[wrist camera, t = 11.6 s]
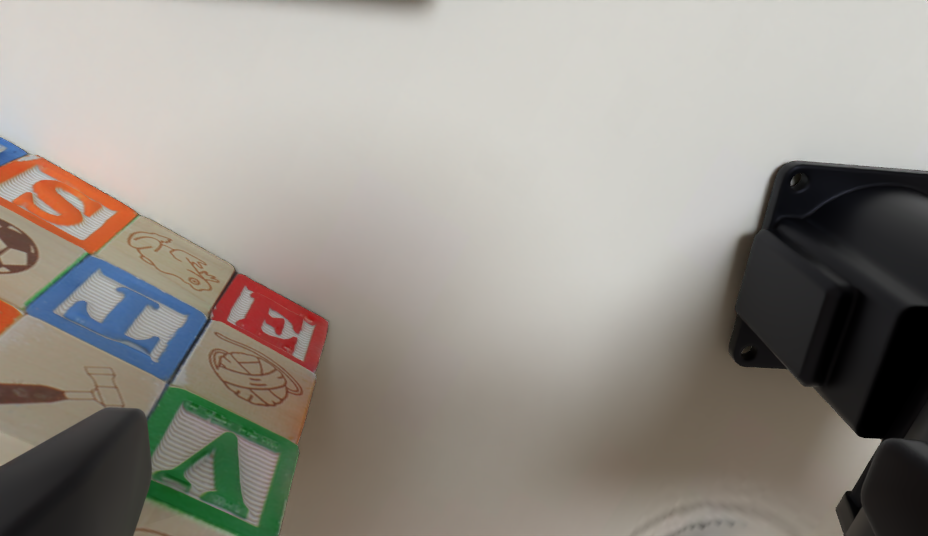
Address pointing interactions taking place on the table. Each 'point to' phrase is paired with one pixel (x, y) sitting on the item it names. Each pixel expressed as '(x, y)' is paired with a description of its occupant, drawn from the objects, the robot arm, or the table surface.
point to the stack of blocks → (149, 351)
